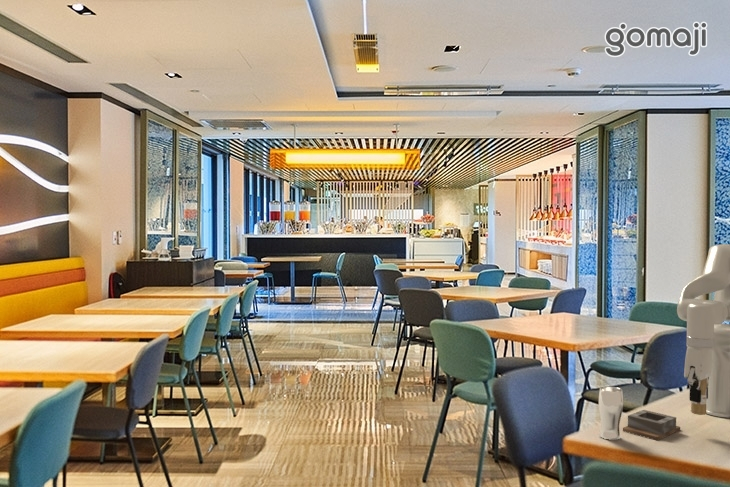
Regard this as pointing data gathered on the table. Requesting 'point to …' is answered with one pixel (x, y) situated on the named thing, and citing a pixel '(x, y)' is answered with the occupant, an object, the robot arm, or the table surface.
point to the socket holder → (651, 424)
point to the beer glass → (610, 412)
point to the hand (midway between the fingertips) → (698, 399)
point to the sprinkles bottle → (701, 407)
